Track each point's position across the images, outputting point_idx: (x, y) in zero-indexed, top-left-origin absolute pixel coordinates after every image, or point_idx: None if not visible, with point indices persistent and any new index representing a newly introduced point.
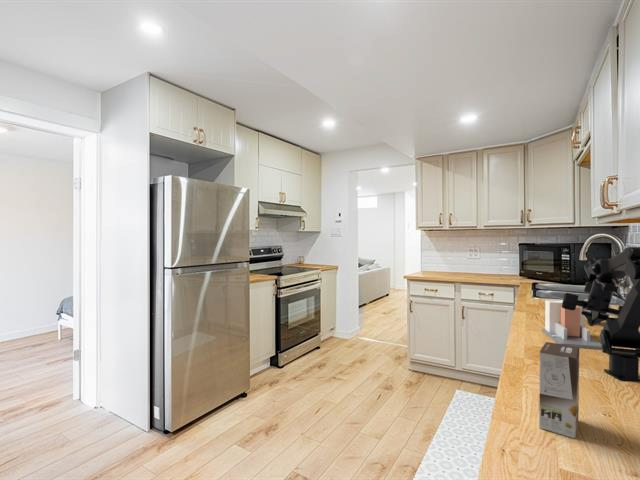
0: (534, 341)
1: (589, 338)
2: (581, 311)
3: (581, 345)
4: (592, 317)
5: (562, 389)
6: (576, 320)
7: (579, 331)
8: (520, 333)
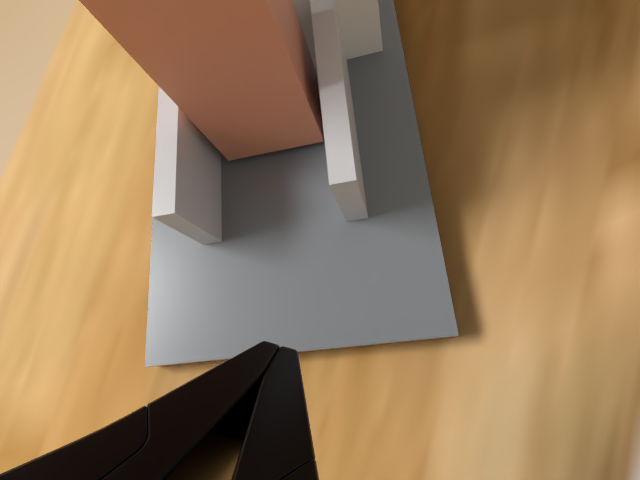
0: (44, 309)
1: (360, 210)
2: None
3: None
4: (207, 459)
5: None
6: (252, 55)
7: (310, 118)
8: (37, 156)
